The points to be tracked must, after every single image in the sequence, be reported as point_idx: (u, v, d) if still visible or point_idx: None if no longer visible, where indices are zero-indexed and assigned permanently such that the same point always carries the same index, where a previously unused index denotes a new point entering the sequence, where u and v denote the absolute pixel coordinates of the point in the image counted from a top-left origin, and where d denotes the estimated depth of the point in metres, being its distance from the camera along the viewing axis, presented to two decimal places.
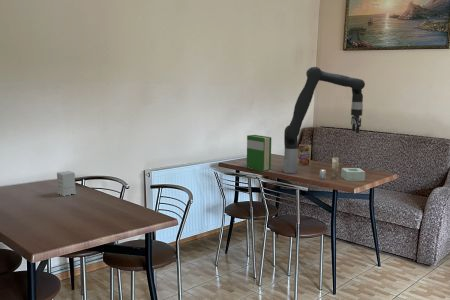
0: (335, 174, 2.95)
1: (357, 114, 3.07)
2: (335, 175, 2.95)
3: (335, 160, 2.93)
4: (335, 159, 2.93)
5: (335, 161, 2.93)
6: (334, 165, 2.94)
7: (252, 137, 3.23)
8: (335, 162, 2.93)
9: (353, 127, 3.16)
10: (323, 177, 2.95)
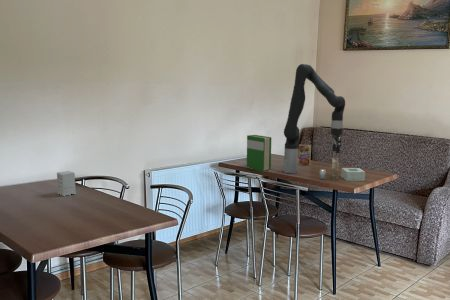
0: (335, 174, 2.95)
1: (337, 133, 2.89)
2: (335, 175, 2.95)
3: (335, 160, 2.93)
4: (335, 159, 2.93)
5: (335, 161, 2.93)
6: (334, 165, 2.94)
7: (252, 137, 3.23)
8: (335, 162, 2.93)
9: (334, 147, 2.98)
10: (323, 177, 2.95)
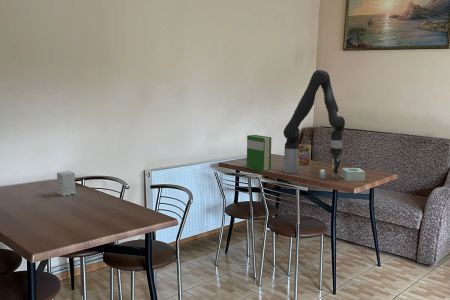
0: (335, 174, 2.95)
1: (336, 153, 2.91)
2: (335, 175, 2.95)
3: None
4: None
5: None
6: None
7: (252, 137, 3.23)
8: (335, 162, 2.93)
9: None
10: (323, 177, 2.95)
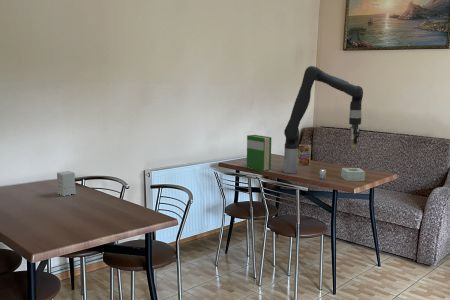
0: (355, 145, 2.92)
1: (356, 123, 2.88)
2: (355, 146, 2.92)
3: None
4: None
5: None
6: (353, 135, 2.91)
7: (252, 137, 3.23)
8: None
9: None
10: (323, 177, 2.95)
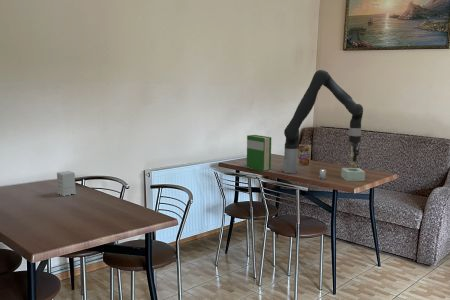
0: (354, 162, 2.94)
1: (355, 141, 2.90)
2: (354, 163, 2.94)
3: None
4: None
5: None
6: None
7: (252, 137, 3.23)
8: (354, 150, 2.92)
9: None
10: (323, 177, 2.95)
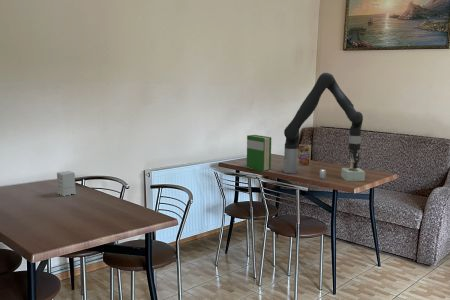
0: None
1: (355, 149, 2.90)
2: None
3: None
4: None
5: None
6: (352, 165, 2.94)
7: (252, 137, 3.23)
8: (353, 162, 2.94)
9: None
10: (323, 177, 2.95)
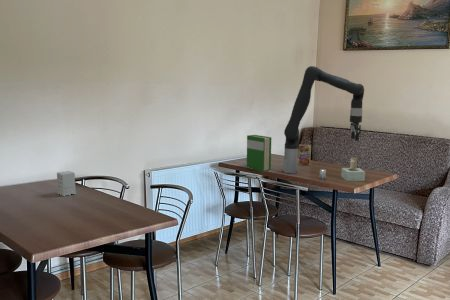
0: None
1: (356, 121, 2.88)
2: None
3: (353, 160, 2.93)
4: (353, 159, 2.93)
5: (354, 161, 2.93)
6: (352, 165, 2.94)
7: (252, 137, 3.23)
8: (353, 162, 2.94)
9: (352, 134, 2.97)
10: (323, 177, 2.95)
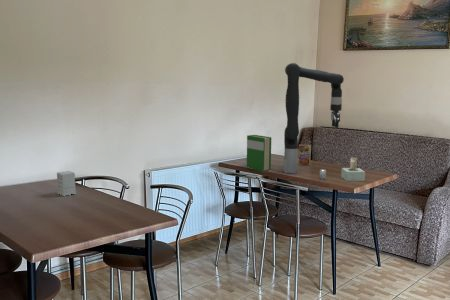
0: None
1: (336, 109, 3.06)
2: None
3: (353, 160, 2.93)
4: (353, 159, 2.93)
5: (353, 161, 2.93)
6: (352, 165, 2.94)
7: (252, 137, 3.23)
8: (353, 162, 2.94)
9: (333, 122, 3.15)
10: (323, 177, 2.95)
